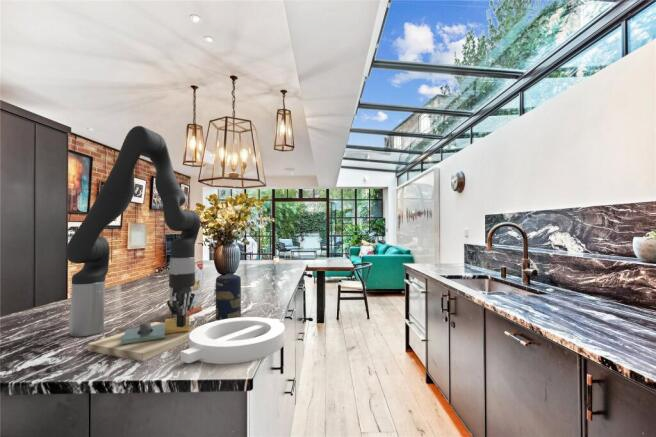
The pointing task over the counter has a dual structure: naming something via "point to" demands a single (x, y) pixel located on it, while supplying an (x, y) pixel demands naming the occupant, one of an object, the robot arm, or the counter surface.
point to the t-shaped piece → (154, 331)
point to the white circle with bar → (235, 340)
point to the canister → (228, 297)
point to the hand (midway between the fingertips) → (181, 326)
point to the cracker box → (195, 290)
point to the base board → (140, 343)
